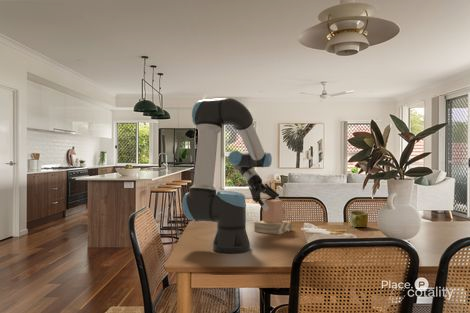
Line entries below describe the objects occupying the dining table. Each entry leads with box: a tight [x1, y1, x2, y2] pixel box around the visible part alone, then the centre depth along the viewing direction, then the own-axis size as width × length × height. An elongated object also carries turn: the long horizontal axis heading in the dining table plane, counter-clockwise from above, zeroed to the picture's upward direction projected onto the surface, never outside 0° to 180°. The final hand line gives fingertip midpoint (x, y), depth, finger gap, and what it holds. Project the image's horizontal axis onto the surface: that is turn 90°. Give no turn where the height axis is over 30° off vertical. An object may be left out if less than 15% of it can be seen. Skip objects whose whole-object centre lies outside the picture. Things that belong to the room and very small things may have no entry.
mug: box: [349, 210, 369, 228], centre depth 192 cm, size 12×10×10 cm
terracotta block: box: [262, 199, 284, 223], centre depth 182 cm, size 7×7×11 cm
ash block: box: [254, 220, 293, 235], centre depth 182 cm, size 14×14×5 cm
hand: (275, 208), depth 182 cm, fingers open, 13 cm apart
